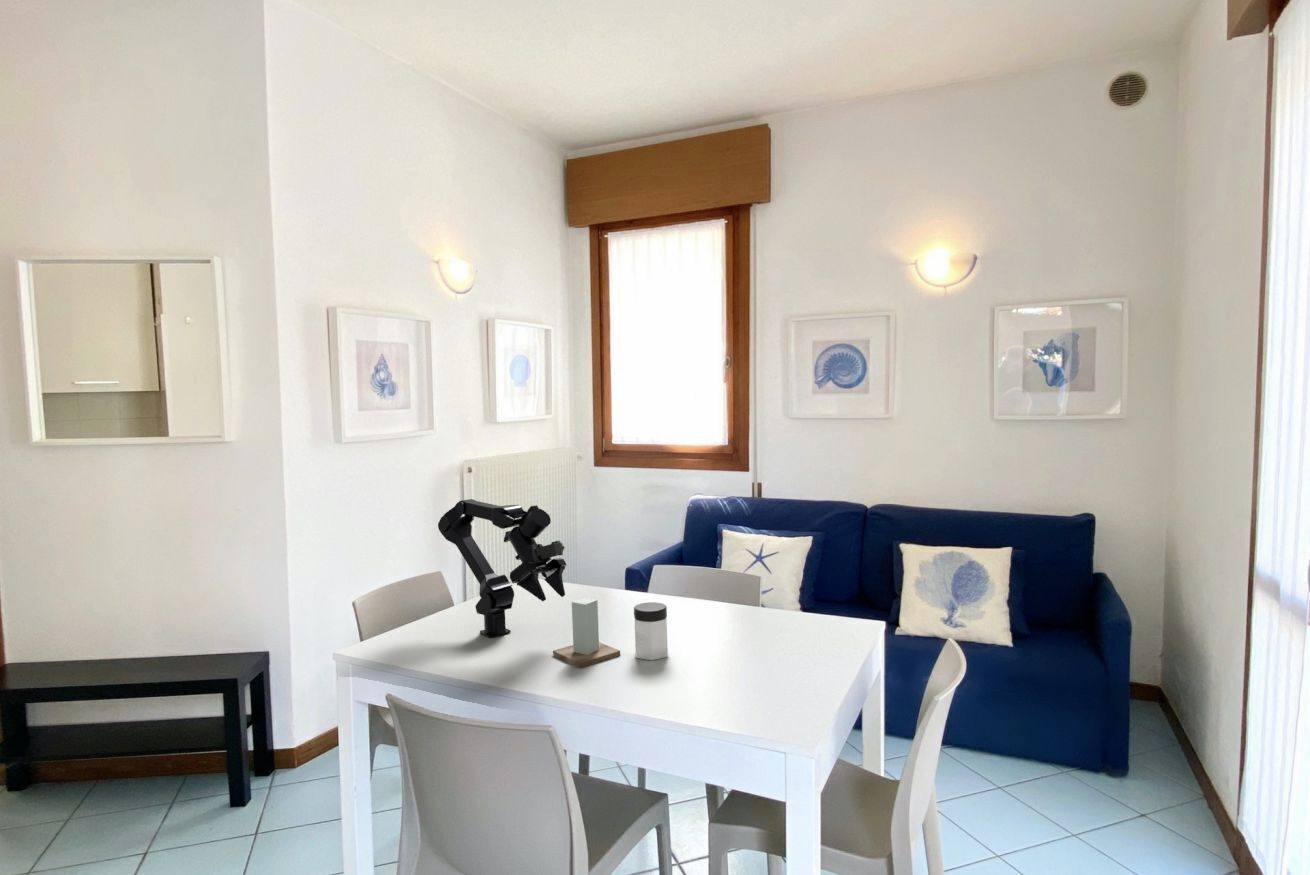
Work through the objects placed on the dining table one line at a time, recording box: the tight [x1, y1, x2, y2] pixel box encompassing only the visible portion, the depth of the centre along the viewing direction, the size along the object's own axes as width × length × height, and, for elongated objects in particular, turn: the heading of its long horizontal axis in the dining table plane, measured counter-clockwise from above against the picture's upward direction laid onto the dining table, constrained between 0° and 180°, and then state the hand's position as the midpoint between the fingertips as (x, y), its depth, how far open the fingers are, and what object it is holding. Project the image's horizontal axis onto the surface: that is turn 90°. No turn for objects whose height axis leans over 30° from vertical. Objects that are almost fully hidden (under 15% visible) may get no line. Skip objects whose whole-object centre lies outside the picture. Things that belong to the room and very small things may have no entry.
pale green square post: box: [571, 597, 600, 655], centre depth 174 cm, size 4×4×12 cm
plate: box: [552, 641, 621, 669], centre depth 175 cm, size 12×12×1 cm
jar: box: [633, 601, 669, 661], centre depth 174 cm, size 9×8×12 cm
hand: (554, 598), depth 180 cm, fingers open, 9 cm apart
